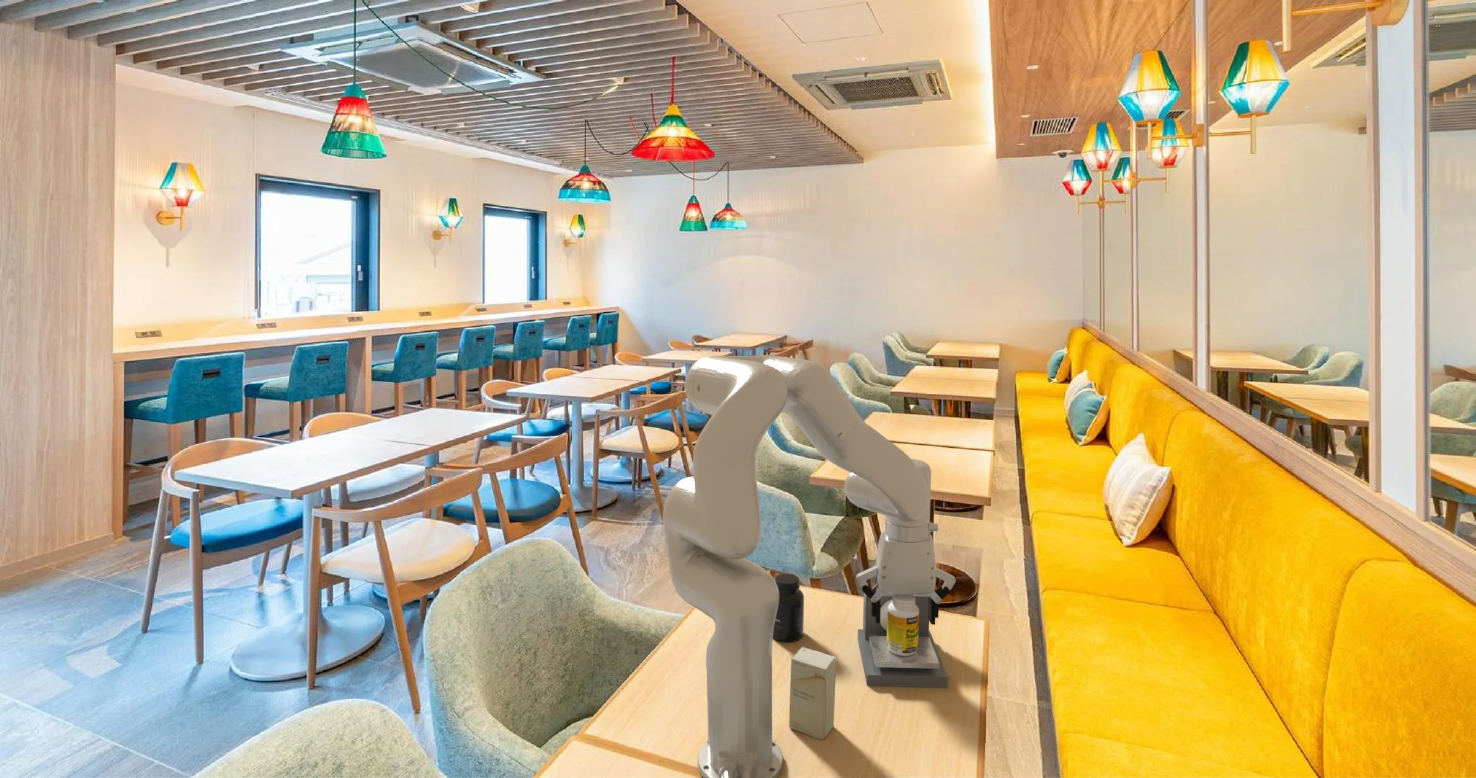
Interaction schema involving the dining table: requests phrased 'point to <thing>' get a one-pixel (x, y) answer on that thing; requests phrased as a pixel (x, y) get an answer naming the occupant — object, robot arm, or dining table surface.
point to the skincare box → (812, 692)
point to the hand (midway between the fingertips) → (904, 620)
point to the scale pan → (920, 659)
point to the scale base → (871, 628)
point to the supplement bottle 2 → (902, 625)
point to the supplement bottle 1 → (789, 609)
